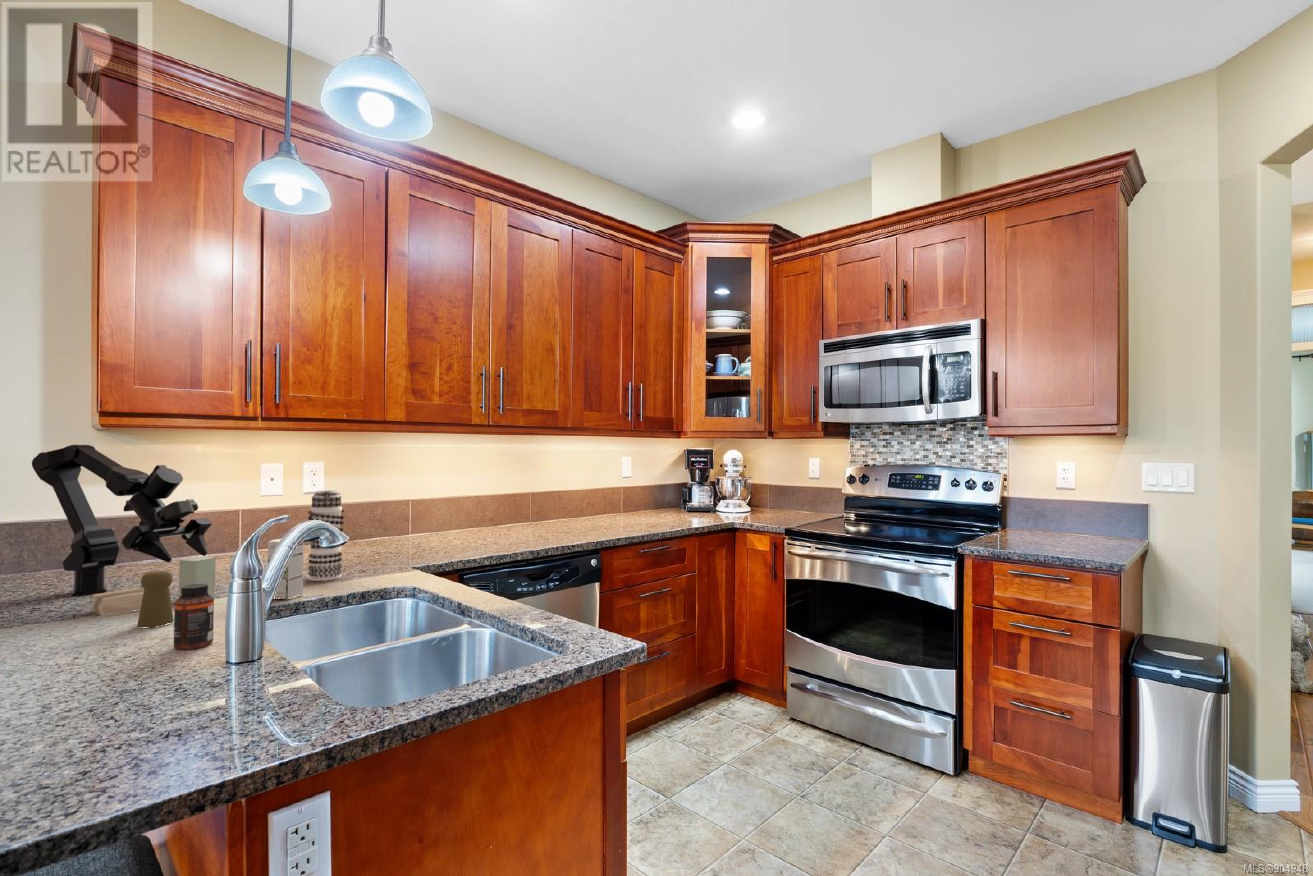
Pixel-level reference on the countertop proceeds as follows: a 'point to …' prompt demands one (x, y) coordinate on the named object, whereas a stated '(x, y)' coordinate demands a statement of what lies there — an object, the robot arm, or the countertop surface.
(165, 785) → the countertop surface
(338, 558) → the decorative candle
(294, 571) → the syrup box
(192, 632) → the supplement bottle
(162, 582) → the cork
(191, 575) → the sage block
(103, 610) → the maple block
